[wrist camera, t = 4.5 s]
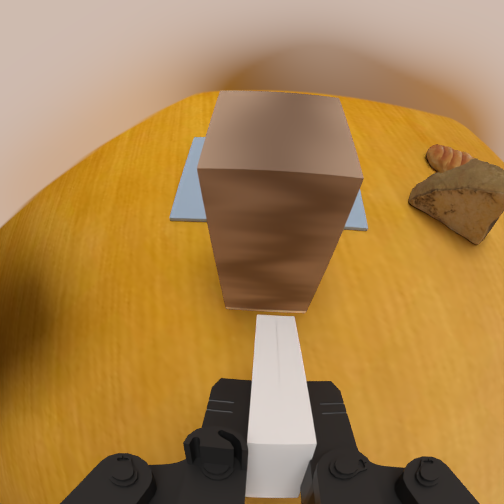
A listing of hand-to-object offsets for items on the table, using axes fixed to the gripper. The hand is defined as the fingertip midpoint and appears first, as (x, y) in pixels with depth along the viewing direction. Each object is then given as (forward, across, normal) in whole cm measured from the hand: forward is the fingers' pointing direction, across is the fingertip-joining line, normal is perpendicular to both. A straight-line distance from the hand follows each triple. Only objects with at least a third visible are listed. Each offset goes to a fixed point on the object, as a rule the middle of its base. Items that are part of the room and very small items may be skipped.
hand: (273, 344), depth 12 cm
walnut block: (+12, 0, -1) cm, 12 cm away
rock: (+18, +20, +5) cm, 27 cm away
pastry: (+23, +24, +10) cm, 35 cm away
